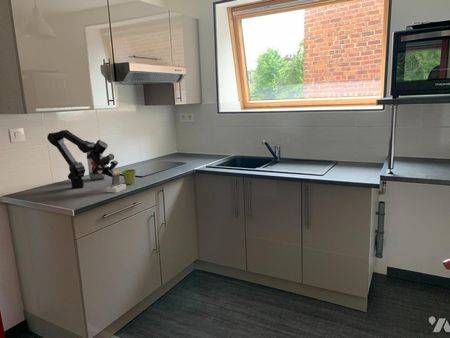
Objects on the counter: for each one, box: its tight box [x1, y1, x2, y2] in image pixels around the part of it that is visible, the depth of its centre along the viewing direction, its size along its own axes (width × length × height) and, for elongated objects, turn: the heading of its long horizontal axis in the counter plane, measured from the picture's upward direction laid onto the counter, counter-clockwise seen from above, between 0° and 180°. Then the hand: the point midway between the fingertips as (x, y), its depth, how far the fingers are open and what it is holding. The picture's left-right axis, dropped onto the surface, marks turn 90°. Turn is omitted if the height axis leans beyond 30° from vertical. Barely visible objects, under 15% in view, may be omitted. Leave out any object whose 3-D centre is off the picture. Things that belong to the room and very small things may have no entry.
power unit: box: [106, 181, 127, 193], centre depth 212 cm, size 7×10×4 cm
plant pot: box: [120, 169, 137, 185], centre depth 227 cm, size 9×9×9 cm
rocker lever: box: [111, 170, 121, 186], centre depth 211 cm, size 2×5×8 cm, turn 161°
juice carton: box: [86, 140, 106, 181], centre depth 241 cm, size 9×10×27 cm
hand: (114, 177), depth 211 cm, fingers closed, pressing on rocker lever
